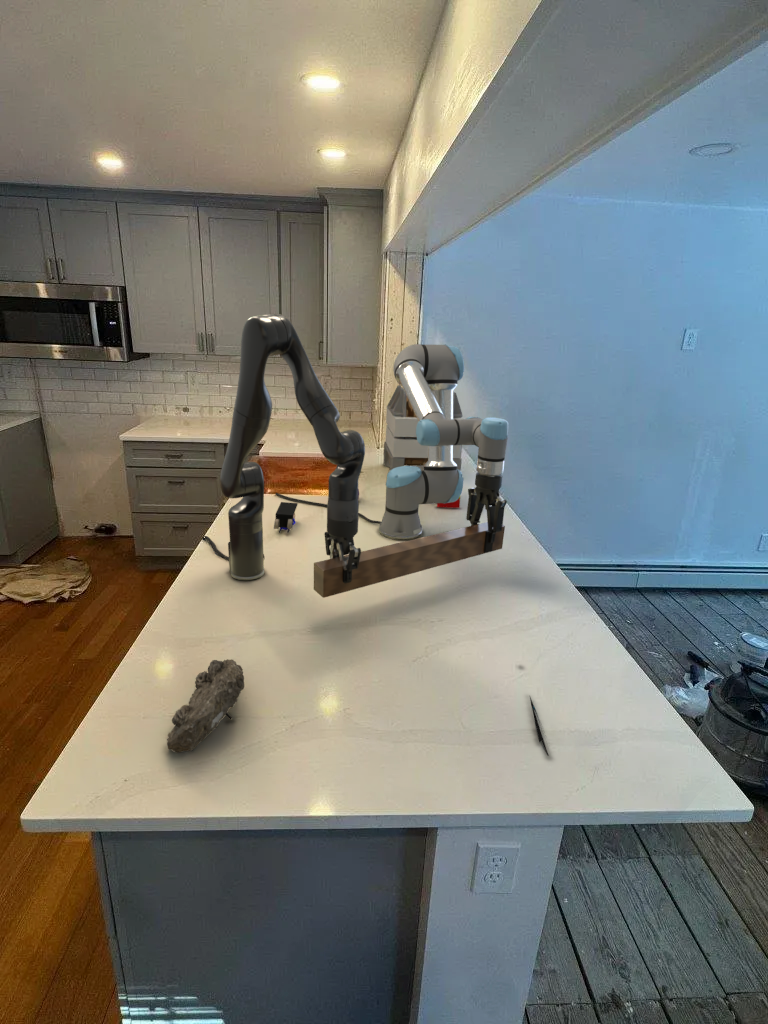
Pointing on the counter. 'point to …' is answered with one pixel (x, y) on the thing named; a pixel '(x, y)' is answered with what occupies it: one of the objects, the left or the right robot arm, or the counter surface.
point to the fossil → (206, 705)
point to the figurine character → (285, 516)
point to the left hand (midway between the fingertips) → (341, 577)
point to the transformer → (409, 434)
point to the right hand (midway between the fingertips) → (480, 548)
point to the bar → (404, 559)
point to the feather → (538, 726)
